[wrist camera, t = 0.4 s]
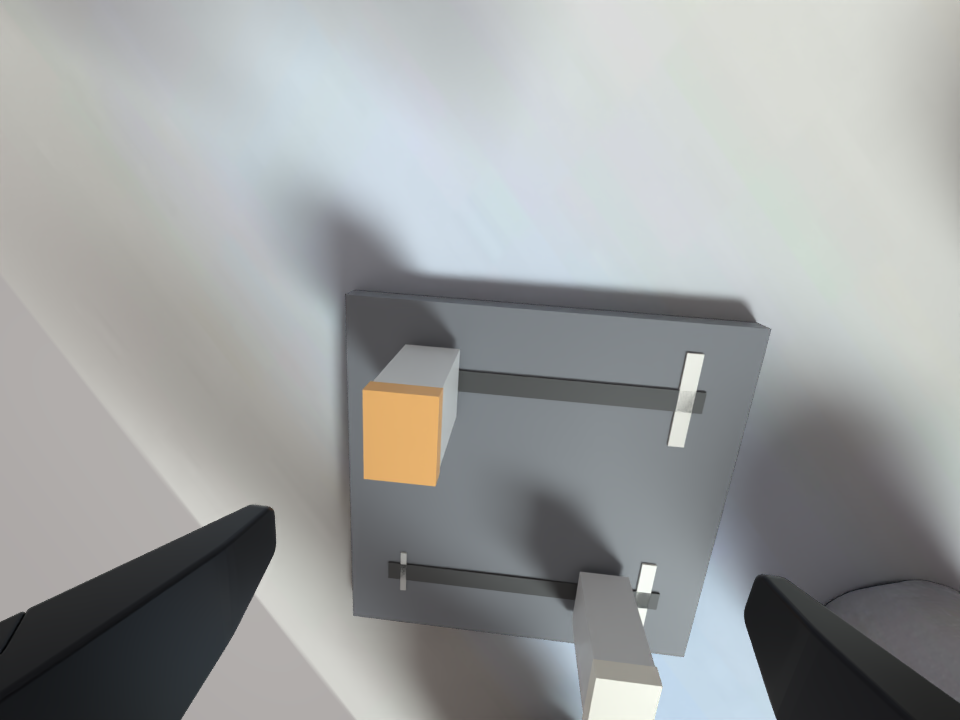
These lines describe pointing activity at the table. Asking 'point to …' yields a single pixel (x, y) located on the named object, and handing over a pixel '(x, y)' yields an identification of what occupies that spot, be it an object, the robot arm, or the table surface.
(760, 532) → the table surface
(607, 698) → the fader
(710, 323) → the console
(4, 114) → the table surface
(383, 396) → the fader
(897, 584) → the pillar candle
